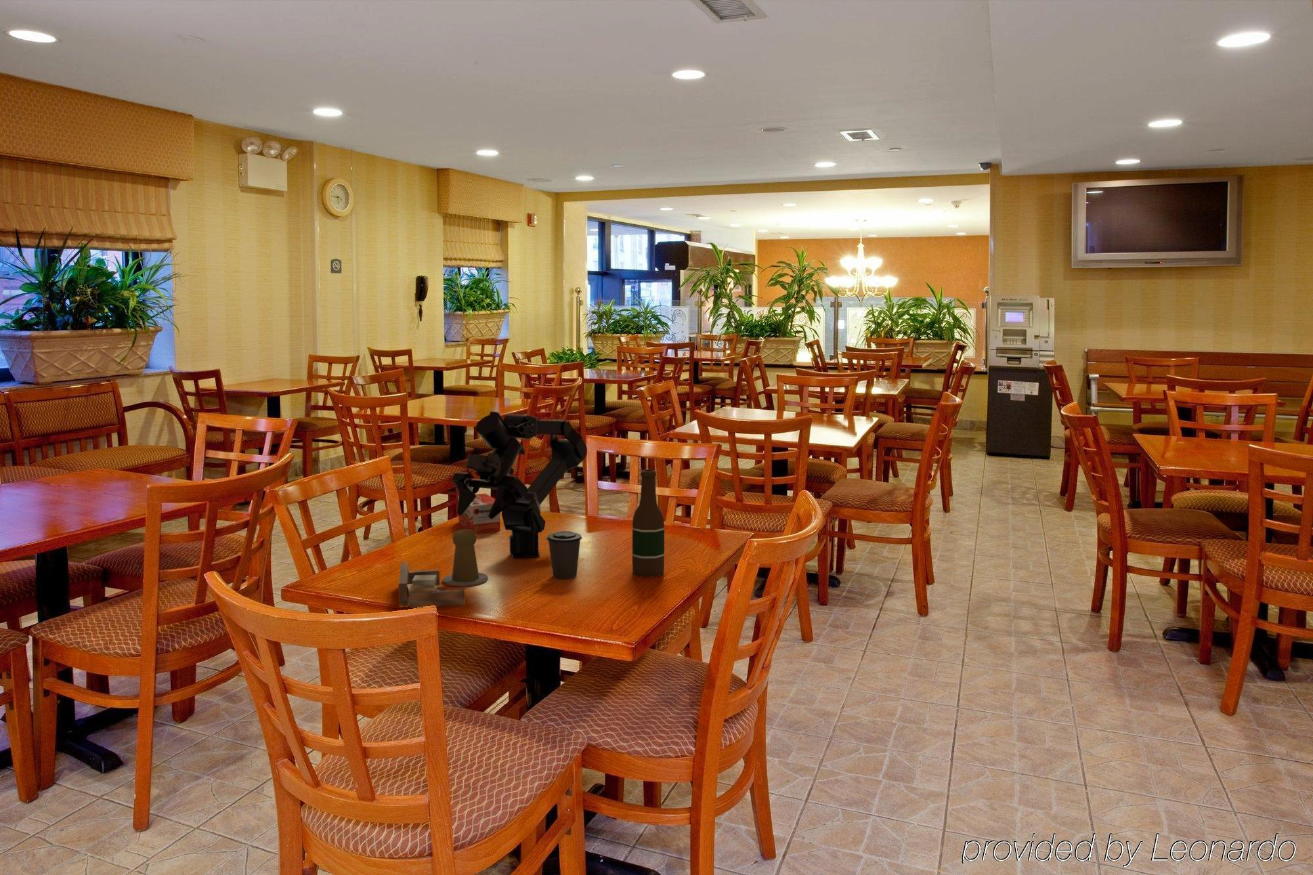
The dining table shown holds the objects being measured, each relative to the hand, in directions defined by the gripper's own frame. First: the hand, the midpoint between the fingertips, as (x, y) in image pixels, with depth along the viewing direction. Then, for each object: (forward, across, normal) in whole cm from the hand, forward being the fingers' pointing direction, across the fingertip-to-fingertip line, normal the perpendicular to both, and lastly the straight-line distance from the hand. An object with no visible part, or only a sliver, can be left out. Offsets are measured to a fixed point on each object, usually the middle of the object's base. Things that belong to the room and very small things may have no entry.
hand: (474, 516), depth 217 cm
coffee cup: (+4, +17, +17) cm, 25 cm away
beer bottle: (-4, +32, +26) cm, 42 cm away
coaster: (+13, 0, +6) cm, 14 cm away
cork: (+13, 0, +6) cm, 14 cm away
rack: (+20, +2, -2) cm, 21 cm away
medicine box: (-15, -30, +35) cm, 49 cm away
